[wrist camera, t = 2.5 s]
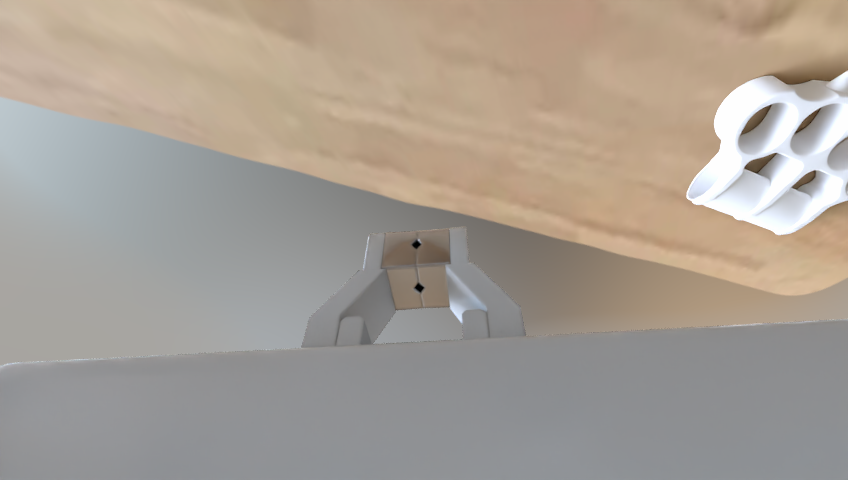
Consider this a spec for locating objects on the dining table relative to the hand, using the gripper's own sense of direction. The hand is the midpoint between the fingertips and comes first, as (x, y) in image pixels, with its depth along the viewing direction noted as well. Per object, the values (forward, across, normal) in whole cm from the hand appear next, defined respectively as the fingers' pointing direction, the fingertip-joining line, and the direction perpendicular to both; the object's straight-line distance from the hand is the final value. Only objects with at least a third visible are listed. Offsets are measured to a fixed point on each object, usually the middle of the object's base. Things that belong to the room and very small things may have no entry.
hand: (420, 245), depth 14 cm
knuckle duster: (+27, -32, +15) cm, 45 cm away
